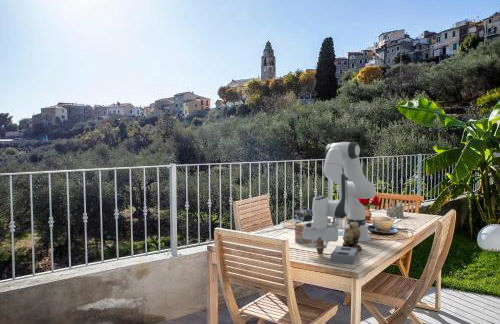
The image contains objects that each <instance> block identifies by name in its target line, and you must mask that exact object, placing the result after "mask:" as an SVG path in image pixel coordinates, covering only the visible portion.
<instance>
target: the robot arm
mask: <svg viewBox="0 0 500 324" xmlns="http://www.w3.org/2000/svg"><path fill="white" fill-rule="evenodd" d="M324 149H325V150H324V153H325V159H324V164H323V174H324V176H325V178H327V179H328V180H329V181H331V182H332V183H333V182H334V183H335V184H337V186H338V197H339V198H338V199H337V200H333V199H328V198H327V195H324V194H323V195H322V194H321V195H319V194H318V195H315V196H314V197H313V198H312V205H311V206H312V208H311V211H312V220H309V221H305V222H306V223H305V224H304V226H305V228H304V229H303V235H302V237H303V239H309V240H312V241H311V243H312V244H313V248H316V249H317V247H316V246H317V243H316V242H315V241H317V240H318V238H321V240H322V241H324V242H325V243H326V244H324V249H327V246H328V244H329V242H336V243H337V242H338V241H339V226H338V225H336V224H329V222H328V221H329V218H328V217H332V218H336V219H337V218H338V219H342V220H343V219H344V218H346V217H347V224H346V225H345V227H344V229H345V228H350V226H349V224H350V223H351V222H355V223H356V224H357V225H358V227H359V229H360V233H361V234H360V238H359V239H358V243H359V242H370V241H372V238H371V236H370V234H369V228H368V226H367V220H366V207H365V206H364V204H363V203H361V202H360V201H359V199H364V200H366V199H367V200H368V199H373V198H374V197H375V196H376V193H377V189H376V186H375V184H373V183H372V182H371V181H369V180H368V178H366V176H365V174H364V173H363V170H362V165H361V161H360V154H361V148H360V145H359V143H357V142H354V141H351V142H350V141H341V142H331V143H328V144H327V145H326V147H325V148H324ZM347 179H349V180H347ZM342 239H343V236H342Z"/></svg>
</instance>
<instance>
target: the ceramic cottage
mask: <svg viewBox="0 0 500 324" xmlns="http://www.w3.org/2000/svg"><path fill="white" fill-rule="evenodd" d="M402 202H403V201H402V200H400V201H398V202H397V204H393V205H392V206H390V208H387V209H386V216H388V217H404V218H405V215H404V206H403V205H402ZM388 217H387V218H388Z"/></svg>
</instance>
